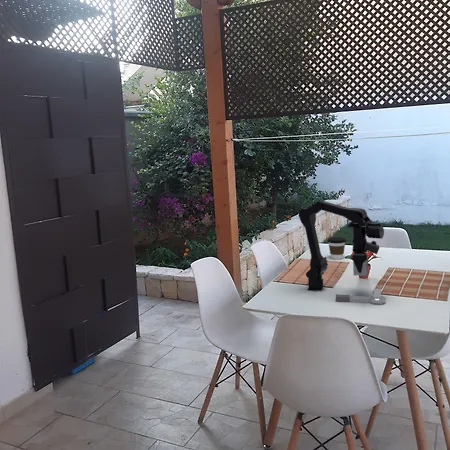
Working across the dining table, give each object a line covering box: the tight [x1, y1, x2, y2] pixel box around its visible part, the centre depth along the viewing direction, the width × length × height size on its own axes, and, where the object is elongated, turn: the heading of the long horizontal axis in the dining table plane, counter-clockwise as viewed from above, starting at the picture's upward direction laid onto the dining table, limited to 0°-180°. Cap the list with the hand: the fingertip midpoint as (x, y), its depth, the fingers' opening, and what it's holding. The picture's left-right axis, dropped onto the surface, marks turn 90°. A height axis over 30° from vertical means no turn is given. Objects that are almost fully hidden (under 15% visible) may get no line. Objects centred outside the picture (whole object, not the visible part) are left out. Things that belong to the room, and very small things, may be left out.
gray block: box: [352, 260, 368, 276], centre depth 210 cm, size 6×6×6 cm
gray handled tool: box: [335, 288, 387, 306], centre depth 204 cm, size 21×7×6 cm, turn 74°
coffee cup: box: [327, 236, 347, 261], centre depth 278 cm, size 11×11×12 cm
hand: (359, 271), depth 211 cm, fingers closed on gray block, 6 cm apart
